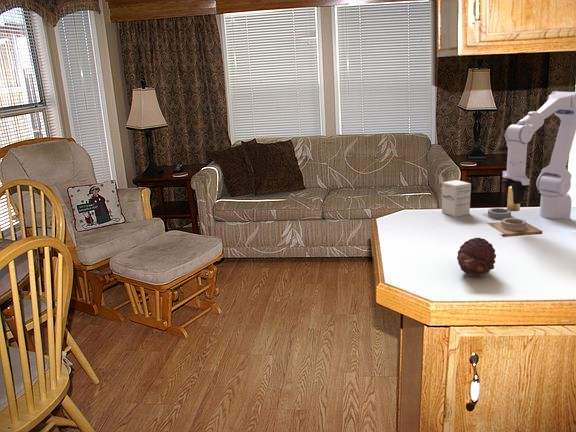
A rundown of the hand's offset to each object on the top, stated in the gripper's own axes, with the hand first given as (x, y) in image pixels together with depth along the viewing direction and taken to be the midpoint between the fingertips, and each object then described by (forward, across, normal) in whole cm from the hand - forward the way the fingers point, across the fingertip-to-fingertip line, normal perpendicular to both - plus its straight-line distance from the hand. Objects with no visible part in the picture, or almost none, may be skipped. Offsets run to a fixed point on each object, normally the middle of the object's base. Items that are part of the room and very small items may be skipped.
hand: (513, 202), depth 184 cm
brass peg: (+3, 0, 0) cm, 3 cm away
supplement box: (+10, -20, -12) cm, 26 cm away
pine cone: (+10, +35, -28) cm, 46 cm away
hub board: (+9, +1, 0) cm, 9 cm away
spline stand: (+9, -13, +1) cm, 16 cm away
